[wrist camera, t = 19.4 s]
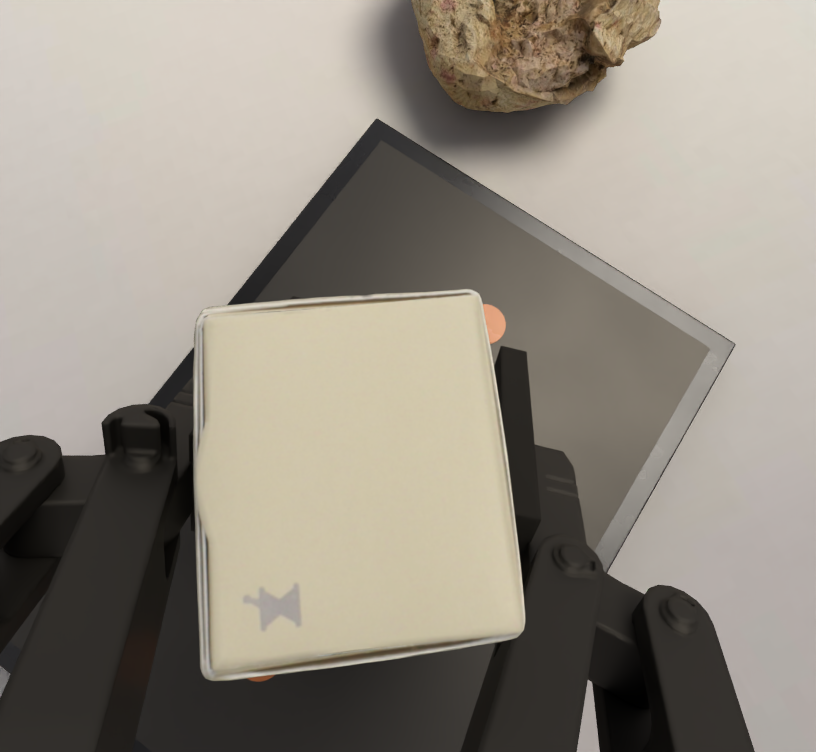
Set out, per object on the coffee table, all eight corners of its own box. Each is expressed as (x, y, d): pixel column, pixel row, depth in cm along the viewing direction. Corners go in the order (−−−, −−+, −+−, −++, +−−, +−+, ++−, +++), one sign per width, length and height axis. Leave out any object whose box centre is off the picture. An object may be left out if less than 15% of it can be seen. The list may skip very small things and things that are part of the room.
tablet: (-18, 629, 20) (-43, 637, 19) (376, 132, 24) (376, 114, 23) (384, 942, 18) (384, 972, 17) (721, 350, 23) (739, 343, 22)
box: (442, 559, 20) (546, 671, 7) (315, 573, 19) (190, 715, 7) (426, 409, 21) (492, 276, 8) (306, 420, 21) (182, 301, 8)
